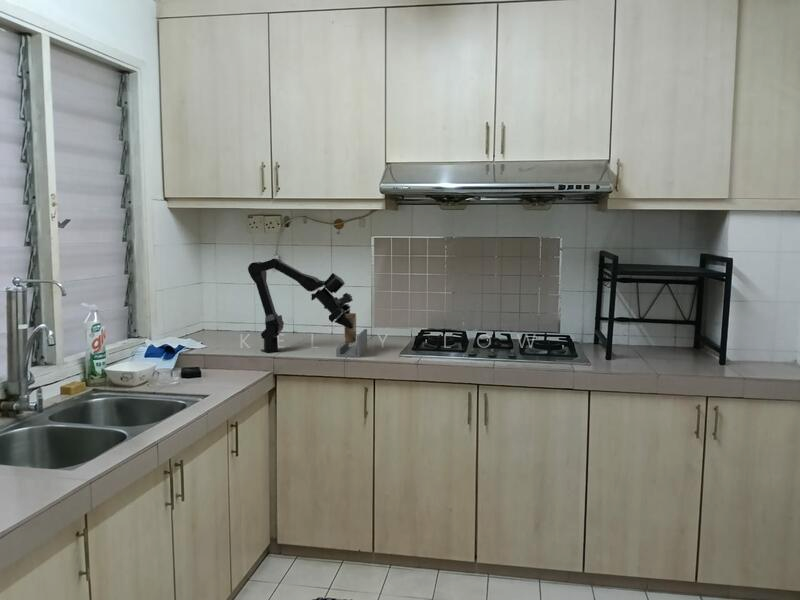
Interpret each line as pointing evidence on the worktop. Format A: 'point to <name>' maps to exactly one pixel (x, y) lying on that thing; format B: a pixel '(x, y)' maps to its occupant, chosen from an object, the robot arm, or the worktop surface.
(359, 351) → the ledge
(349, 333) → the brown wooden block
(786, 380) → the worktop surface
